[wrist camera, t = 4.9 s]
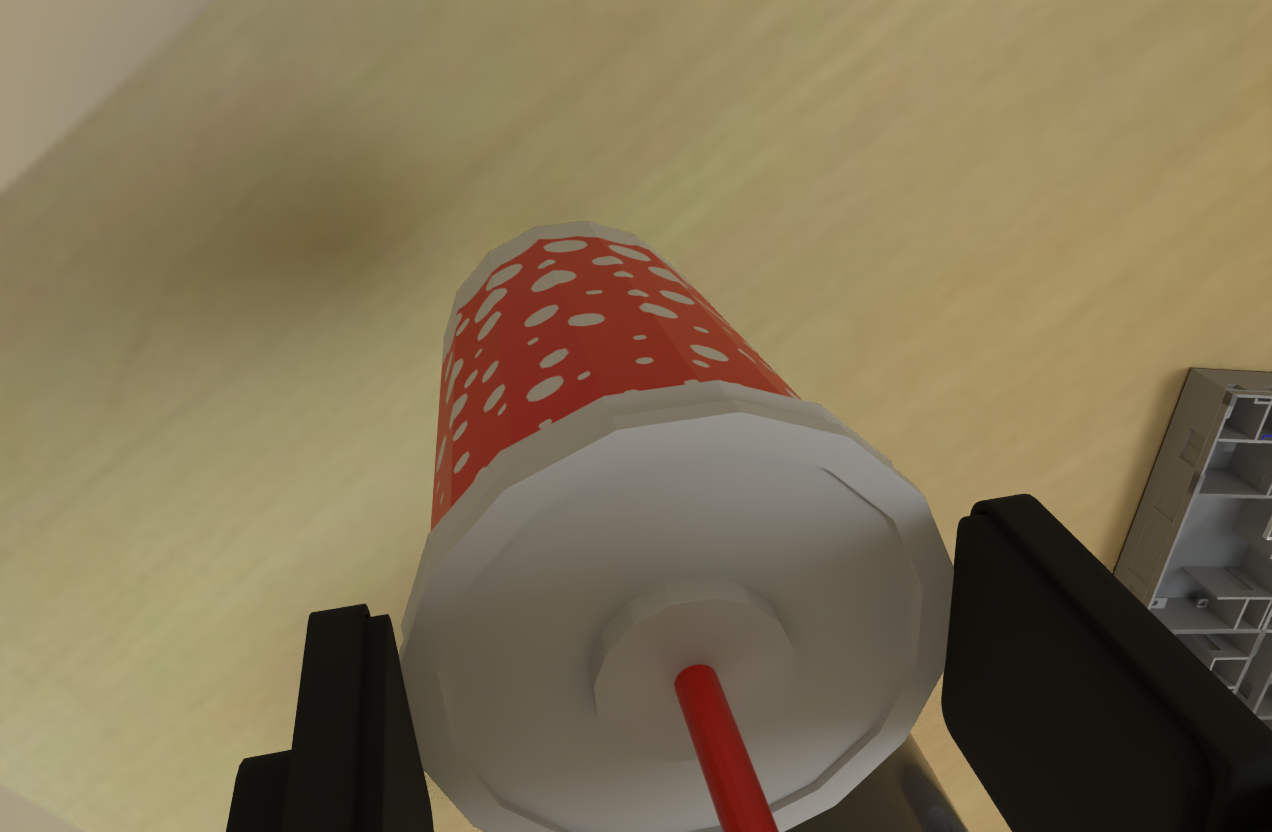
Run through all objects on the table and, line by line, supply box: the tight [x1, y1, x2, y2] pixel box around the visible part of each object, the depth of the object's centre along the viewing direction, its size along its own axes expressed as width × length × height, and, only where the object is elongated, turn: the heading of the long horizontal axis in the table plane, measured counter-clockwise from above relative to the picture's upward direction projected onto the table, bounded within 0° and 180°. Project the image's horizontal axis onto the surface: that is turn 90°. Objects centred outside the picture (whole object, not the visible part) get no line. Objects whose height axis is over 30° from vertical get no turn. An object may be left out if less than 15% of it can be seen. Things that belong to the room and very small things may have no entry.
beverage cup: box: [399, 221, 954, 832], centre depth 13 cm, size 6×6×14 cm
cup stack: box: [785, 733, 969, 832], centre depth 28 cm, size 9×9×15 cm
